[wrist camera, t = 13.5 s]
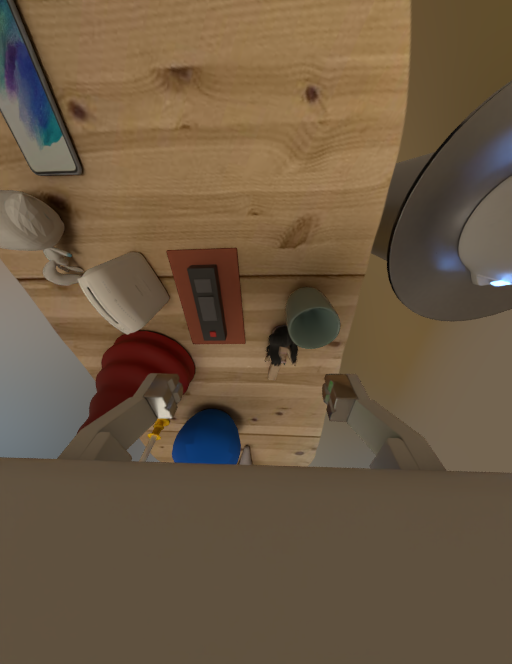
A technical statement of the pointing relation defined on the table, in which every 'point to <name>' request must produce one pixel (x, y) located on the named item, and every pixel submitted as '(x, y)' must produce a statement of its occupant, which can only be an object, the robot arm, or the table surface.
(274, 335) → the toy figure
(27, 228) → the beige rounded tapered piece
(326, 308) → the cup
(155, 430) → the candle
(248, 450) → the grey long tapered piece
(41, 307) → the table surface
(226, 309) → the mat
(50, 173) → the smartphone
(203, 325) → the remote
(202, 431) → the vase
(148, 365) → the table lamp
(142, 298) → the photo printer
